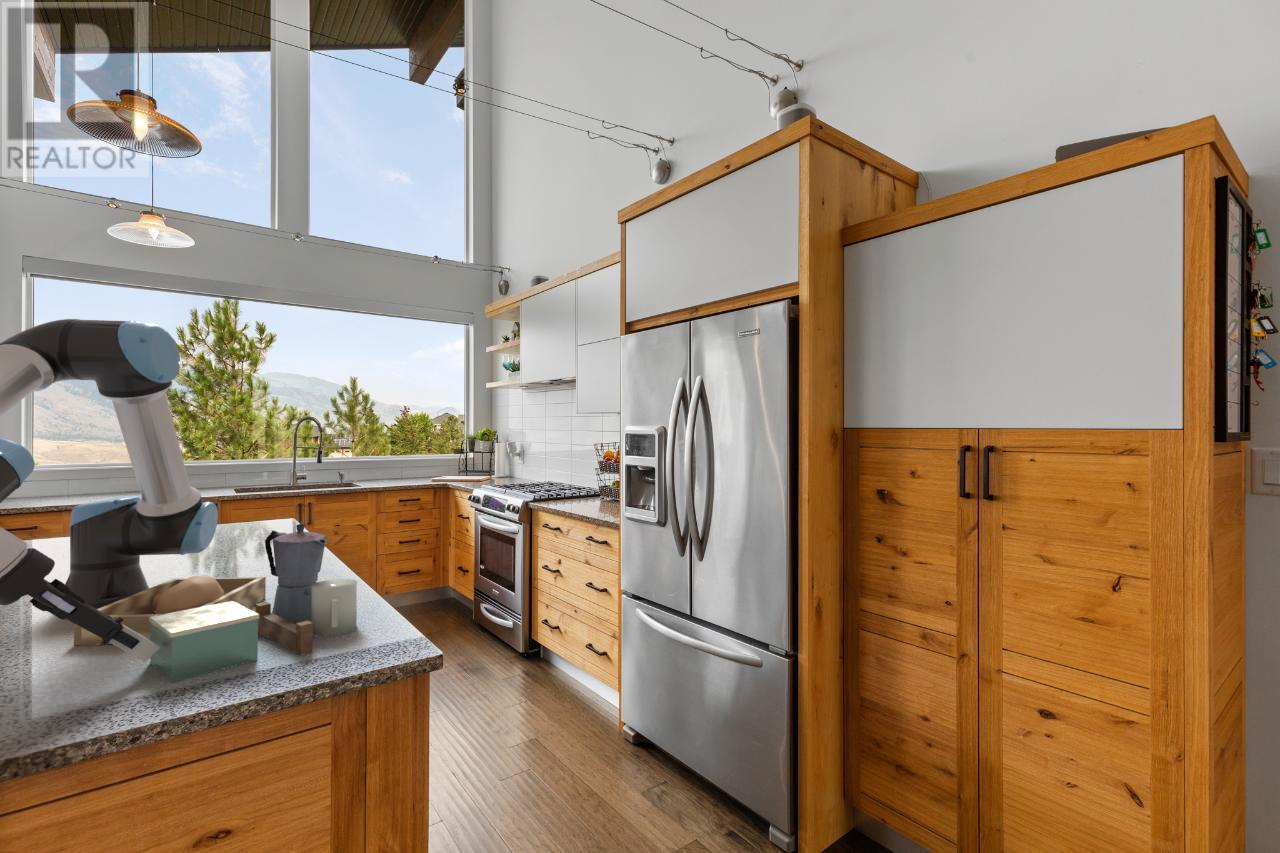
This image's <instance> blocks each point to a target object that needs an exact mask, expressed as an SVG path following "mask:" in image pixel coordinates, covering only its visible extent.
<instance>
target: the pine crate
mask: <svg viewBox="0 0 1280 853" xmlns="http://www.w3.org/2000/svg"><path fill="white" fill-rule="evenodd" d="M187 578H188V577H187ZM187 578H181V577H180V578H178V577H177V578H173V579H170V580H167V581H164V582H162V583H160V584H157V585H154V586H152V587H149V589H147V590H144V591H142V592H139V593H137V594H134V595H132V596H129V597H126V598H124V599H121V600H119V601H116V602H114V603H111V604H109V605H106V606H104V607H101V608H99V609H97V610H99V611H100V612H102V613H104V614H105V615H107V616H111V618H112V619H113V620H116V619H118V618H119V617H121V618H123V619H124V620H123V621H122V622H121V623H120V624H123V625H125V626H126V627H128V628H130V629H131V630H133V631H135V632H137V633H138V634H140V635H142V636H143V637H145V638H147V639H148V640H150V625H151V622H150V621H149V617H152V616H157V615H162V614H156V613H155V610H154V609H153V608H152V607H151V605H152V601H153V598H154V597H155V595H157V594H159V593H161V592H164V591H166V590H168V589H170V588H171V587H173V586H175V585H177V584H179V583H180V582H182V581H183V580H185V579H187ZM214 578H215V579H216V581H217V582H218V583H219V585H220V586H221V588H222V589H223V590H224V595H223V596H221V597H220V598H218V599H215V600H213V601H211V602H209V603H207V604H205V605H203V606H201V607H204V606H209V605H214V604H219V603H224V602H229V601H234V602H236V603H238V604H240V605H242V606H244V607H246V608H248V609H251V608H252V607H253V606H255V604H259V603H261V602H262V601H264V600H265V599H266V587H267V586H266V585H267V584H266V580H267V578H266V576H249V577H248V576H241V577H240V576H239V577H237V576H235V577H214ZM263 599H264V600H263ZM258 602H259V603H258ZM251 606H252V607H251ZM153 612H154V614H153ZM101 641H102V638H101V637H99V636H97V635H95V634H93V633H91V632H89V631H88V630H86V629H84V628H82V627H80V626H78V625H76V624H75V623H73V647H76V646H75V645H81V646H82V645H87V646H98V645H97V644H101V643H100V642H101ZM107 644H112V643H110V642H108V643H107ZM81 646H80V647H81ZM82 647H83V646H82Z"/></svg>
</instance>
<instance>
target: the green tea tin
mask: <svg viewBox="0 0 1280 853" xmlns="http://www.w3.org/2000/svg"><path fill="white" fill-rule="evenodd" d="M258 619H259V614H258V613H256V612H255V610H251V608H246V607H244V606H242V605H240V604H238V603H236V602H234V601H229V602H224V603H219V604H214V605H209V606H204V607H198V608H193V609H188V610H183V611H178V612H172V613H167V614H162V615H157V616H152V617H149V621H150V622H151V625H150V641H152V642H153V643H155V644H157V645H158V646H160V648H159V649H158V650H157V651H156V652H155V653H154V654H153V655H152V656H151V658H150V659H149V664H150V665H151V666H153V668H155V669H156V670H157V671H158V672H159V673H160V674H161V675H163V677H165V678H166V679H167V680H168V681H169V682H170V683H172V684H174V683H177V682H181V681H184V680H189V679H192V678H195V677H199V675H200V676H203V674H204V675H206V674H210V673H214V671H215V672H218V671H217V670H219V671H221V669H222V670H224V669H223V668H226V669H228V668H227V667H230V668H232V667H231V666H234V667H236V666H235V665H237V666H241V665H243V664H242V663H245V664H248V663H247V662H249V663H251V662H250V661H253V660H256V661H258V660H257V659H258V657H259V656H258V655H259V654H258V653H259V649H258V648H259V647H258V644H259V643H258V640H259V639H258V638H259V636H258V635H259V633H258ZM253 662H254V661H253ZM240 664H241V665H240Z"/></svg>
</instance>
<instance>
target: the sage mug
mask: <svg viewBox="0 0 1280 853" xmlns="http://www.w3.org/2000/svg"><path fill="white" fill-rule="evenodd" d="M316 582H317V583H315V584H313V585H312V594H311V622H312V623H313V636H315V635H316V637H334V635H336V636H340V635H339V634H341V635H345V634H347V632H348V633H350V631H351V632H353V631H354V630H356V629H357V620H358V619H357V616H358V615H357V612H358V611H357V608H358V607H357V605H358V604H357V603H358V600H357V598H358V597H357V596H358V595H357V594H358V581H357V580H355V579H351V578H334V579H326V580H325V579H324V580H322V581H316ZM355 628H356V629H355ZM352 630H353V631H352ZM344 633H345V634H344Z"/></svg>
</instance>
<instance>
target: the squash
mask: <svg viewBox="0 0 1280 853" xmlns="http://www.w3.org/2000/svg"><path fill="white" fill-rule="evenodd" d="M215 578H216V577H213V576H210V575H208V574H205V575H195V576H194V575H193V576H190V577H187V579H185V580H183V581H182V582H180V583H179V584H177V585H175V586H173V587H171V588H170V589H168V590H166V591H164V592H161V593H159V594H157V595H155V597H154V598H153V601H152V605H151V607H152V608H153V609H154V610H155V612H154V614H167V613H172V612H178V611H183V610H188V609H193V608H198V607H201V606H203V605H205V604H207V603H209V602H211V601H213V600H215V599H218V598H220V597H221V596H223V595H224V590H223V589H222V588H221V586H220V585H219V583H218V582H217V581H216V579H215Z"/></svg>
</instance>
